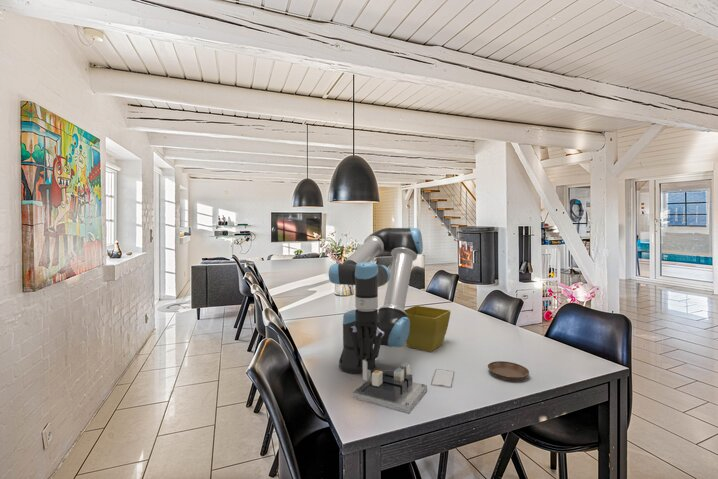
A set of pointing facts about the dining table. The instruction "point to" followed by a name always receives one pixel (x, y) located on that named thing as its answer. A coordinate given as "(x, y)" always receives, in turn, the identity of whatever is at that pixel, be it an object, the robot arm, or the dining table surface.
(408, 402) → the panel
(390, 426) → the dining table surface
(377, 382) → the block with orange pad
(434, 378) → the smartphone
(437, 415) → the dining table surface
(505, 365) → the saucer
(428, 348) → the flower pot
